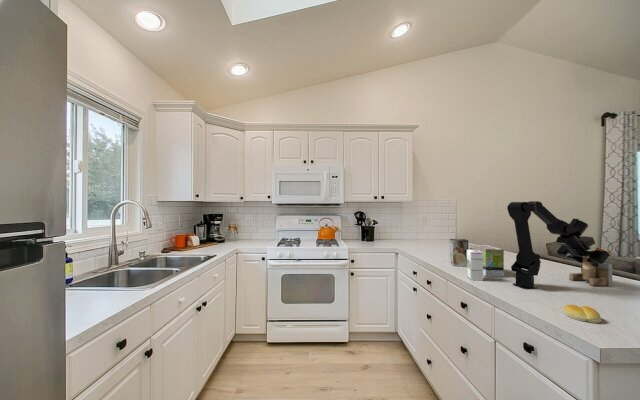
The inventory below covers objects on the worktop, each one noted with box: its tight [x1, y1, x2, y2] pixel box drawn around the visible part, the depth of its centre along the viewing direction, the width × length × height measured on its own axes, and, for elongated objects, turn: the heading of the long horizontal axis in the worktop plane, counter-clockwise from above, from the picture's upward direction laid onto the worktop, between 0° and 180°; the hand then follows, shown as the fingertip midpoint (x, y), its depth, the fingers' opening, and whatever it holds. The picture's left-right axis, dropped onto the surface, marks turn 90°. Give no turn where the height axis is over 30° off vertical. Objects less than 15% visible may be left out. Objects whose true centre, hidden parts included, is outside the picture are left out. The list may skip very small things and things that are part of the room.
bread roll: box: [562, 304, 602, 324], centre depth 86 cm, size 8×9×4 cm
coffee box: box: [449, 238, 470, 267], centre depth 158 cm, size 9×6×16 cm
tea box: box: [469, 244, 505, 278], centre depth 140 cm, size 15×10×15 cm
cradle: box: [568, 264, 609, 287], centre depth 123 cm, size 9×10×7 cm
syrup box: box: [466, 249, 484, 282], centre depth 130 cm, size 6×6×14 cm
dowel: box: [582, 256, 596, 282], centre depth 123 cm, size 4×4×11 cm
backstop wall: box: [596, 262, 613, 287], centre depth 124 cm, size 2×10×10 cm, turn 7°
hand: (591, 265), depth 123 cm, fingers closed on dowel, 4 cm apart
